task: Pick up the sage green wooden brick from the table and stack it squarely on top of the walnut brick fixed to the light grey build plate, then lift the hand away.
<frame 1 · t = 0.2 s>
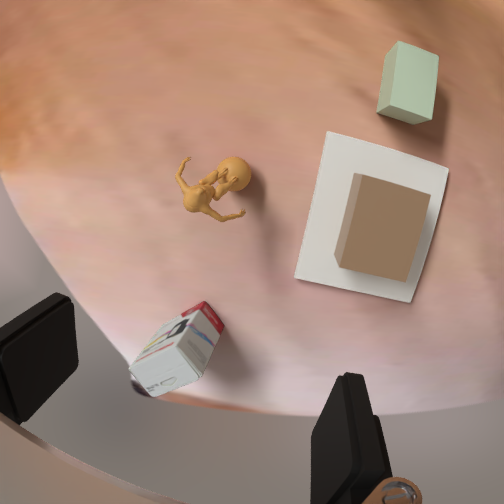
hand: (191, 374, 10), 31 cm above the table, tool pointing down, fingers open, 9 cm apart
build plate: (373, 220, 38), on the table
green brick: (399, 89, 33), on the table
ink box: (192, 325, 45), on the table
figurine: (231, 179, 39), on the table
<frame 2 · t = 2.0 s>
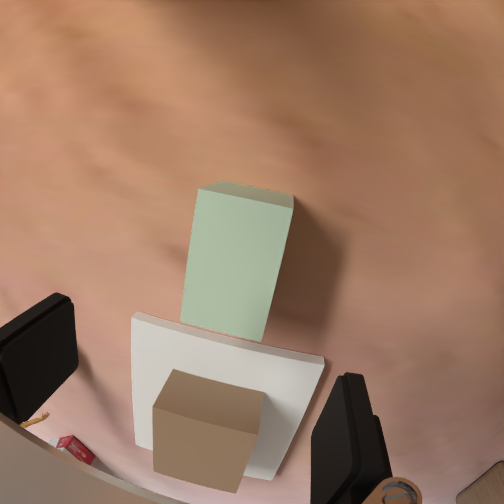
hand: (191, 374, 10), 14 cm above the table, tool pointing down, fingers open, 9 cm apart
build plate: (213, 410, 28), on the table
block: (489, 479, 30), on the table
green brick: (246, 242, 23), on the table
ink box: (72, 447, 36), on the table
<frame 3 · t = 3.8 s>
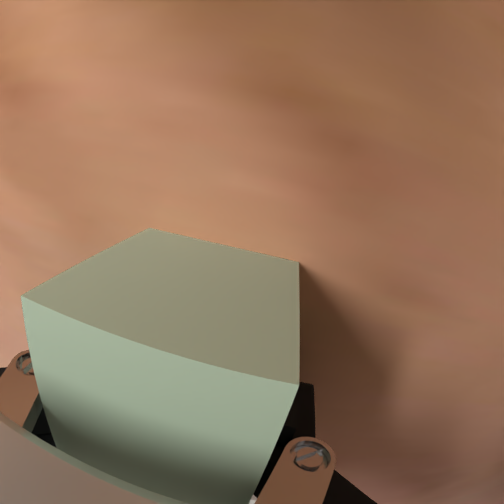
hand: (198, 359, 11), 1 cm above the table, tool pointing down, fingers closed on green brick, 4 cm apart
green brick: (203, 348, 11), on the table, touching gripper
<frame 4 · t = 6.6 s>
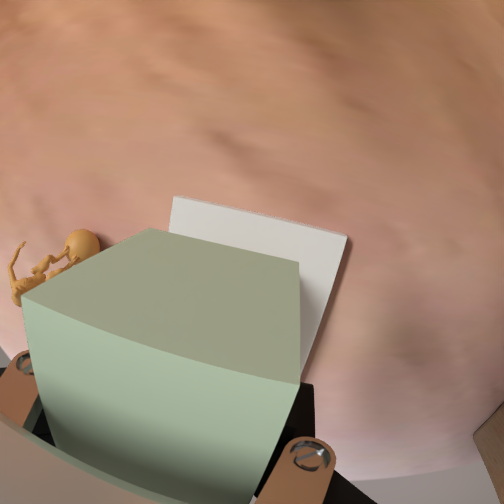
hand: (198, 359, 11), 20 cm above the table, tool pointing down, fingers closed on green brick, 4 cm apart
build plate: (241, 300, 32), on the table
green brick: (203, 348, 11), point 19 cm above the table, touching gripper
figurine: (89, 248, 33), on the table
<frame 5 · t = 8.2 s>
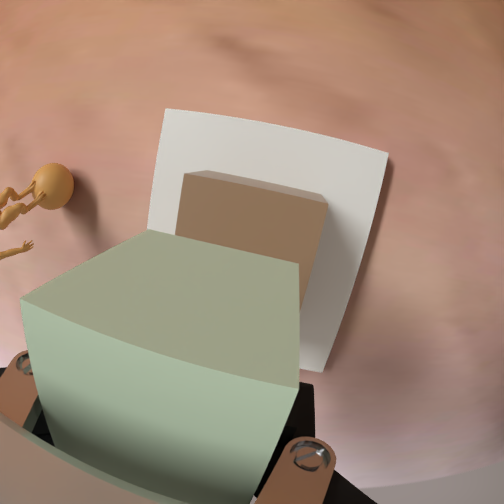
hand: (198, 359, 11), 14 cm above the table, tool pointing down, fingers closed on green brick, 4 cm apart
build plate: (251, 245, 24), on the table
green brick: (203, 349, 11), point 14 cm above the table, touching gripper
figurine: (62, 192, 25), on the table
when the fingers open (8 cm above the table, at t = 9.7 s): green brick stays where it is, resting on build plate.
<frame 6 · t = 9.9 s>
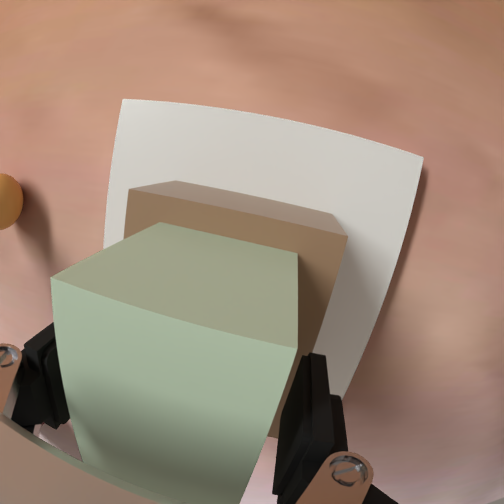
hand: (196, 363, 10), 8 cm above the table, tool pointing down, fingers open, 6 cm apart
build plate: (237, 280, 18), on the table
green brick: (209, 334, 12), point 6 cm above the table, touching build plate
figurine: (14, 207, 19), on the table
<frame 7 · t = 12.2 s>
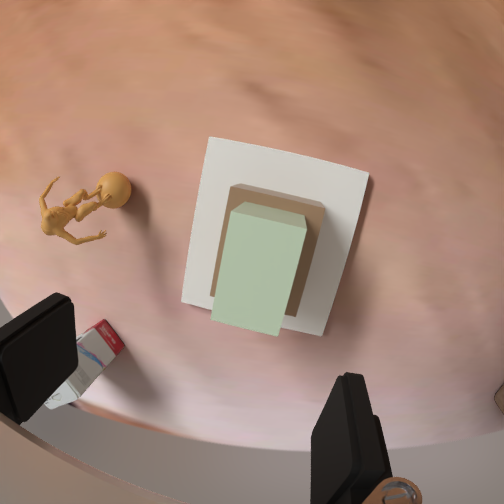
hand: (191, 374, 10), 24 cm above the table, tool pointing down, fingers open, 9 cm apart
build plate: (270, 238, 33), on the table
green brick: (264, 254, 28), point 6 cm above the table, touching build plate
ink box: (98, 342, 41), on the table
figurine: (118, 195, 35), on the table
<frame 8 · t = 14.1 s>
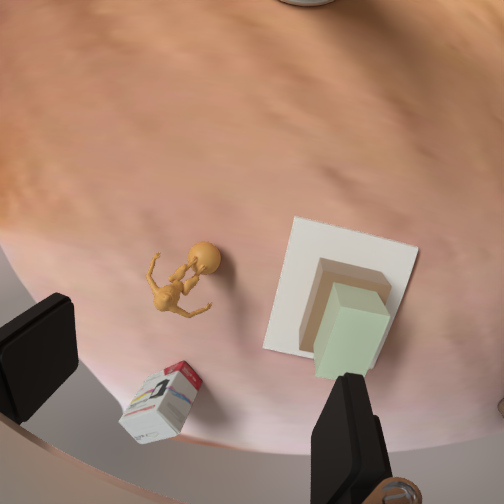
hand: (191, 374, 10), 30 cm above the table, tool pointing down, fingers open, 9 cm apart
build plate: (338, 298, 40), on the table
green brick: (344, 319, 34), point 6 cm above the table, touching build plate
ink box: (174, 378, 48), on the table
figurine: (203, 258, 42), on the table
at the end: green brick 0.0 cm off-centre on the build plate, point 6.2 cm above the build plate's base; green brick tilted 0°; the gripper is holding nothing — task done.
